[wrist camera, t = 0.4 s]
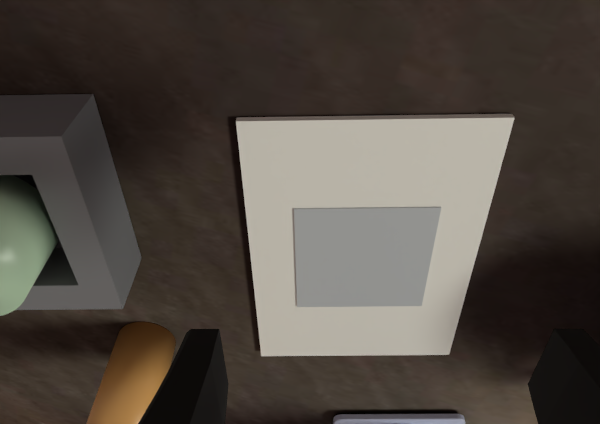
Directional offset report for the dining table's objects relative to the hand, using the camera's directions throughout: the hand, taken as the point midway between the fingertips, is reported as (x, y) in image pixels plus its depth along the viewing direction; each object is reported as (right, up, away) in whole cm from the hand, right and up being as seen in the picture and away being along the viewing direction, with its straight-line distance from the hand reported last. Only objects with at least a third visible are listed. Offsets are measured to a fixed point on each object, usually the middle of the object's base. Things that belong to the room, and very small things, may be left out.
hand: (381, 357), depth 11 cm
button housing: (-13, +4, +9) cm, 17 cm away
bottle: (-10, -4, +15) cm, 19 cm away
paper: (+1, +1, +11) cm, 12 cm away
